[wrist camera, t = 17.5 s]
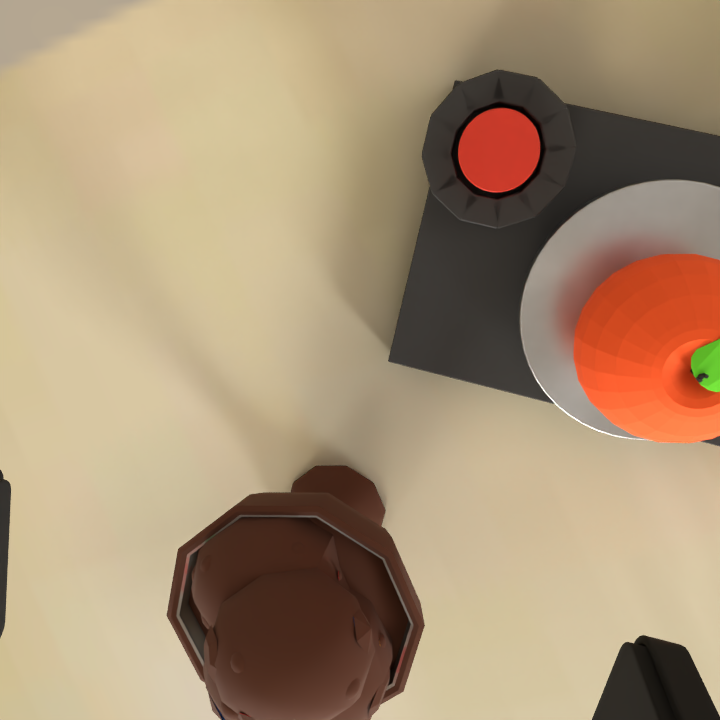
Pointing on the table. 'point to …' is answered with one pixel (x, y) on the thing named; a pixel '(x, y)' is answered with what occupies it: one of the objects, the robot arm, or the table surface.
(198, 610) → the ice cream bowl
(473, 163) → the button
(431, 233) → the scale
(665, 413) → the clementine
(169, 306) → the table surface
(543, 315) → the pan
